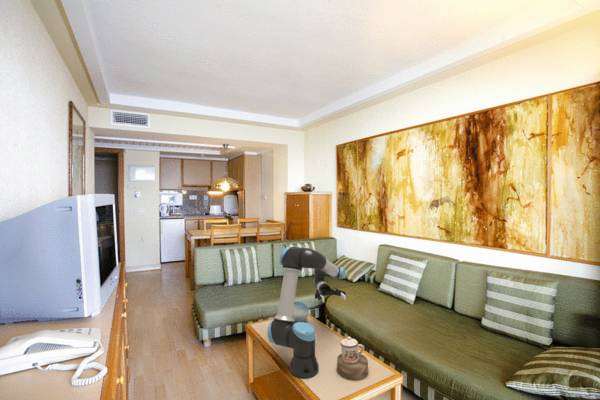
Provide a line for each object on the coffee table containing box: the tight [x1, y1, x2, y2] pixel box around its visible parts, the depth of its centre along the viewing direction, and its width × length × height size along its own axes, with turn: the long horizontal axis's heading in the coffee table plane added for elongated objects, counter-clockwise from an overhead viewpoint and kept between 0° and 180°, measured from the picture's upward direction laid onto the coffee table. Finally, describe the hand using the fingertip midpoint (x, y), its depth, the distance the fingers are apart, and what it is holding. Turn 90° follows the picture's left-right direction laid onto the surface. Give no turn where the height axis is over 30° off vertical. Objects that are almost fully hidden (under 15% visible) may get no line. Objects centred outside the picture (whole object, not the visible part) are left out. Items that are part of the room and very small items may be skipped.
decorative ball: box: [292, 301, 309, 324], centre depth 211 cm, size 15×15×15 cm
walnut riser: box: [336, 353, 369, 381], centre depth 152 cm, size 16×16×6 cm
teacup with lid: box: [340, 336, 364, 364], centre depth 152 cm, size 12×9×12 cm
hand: (334, 299), depth 174 cm, fingers open, 13 cm apart
